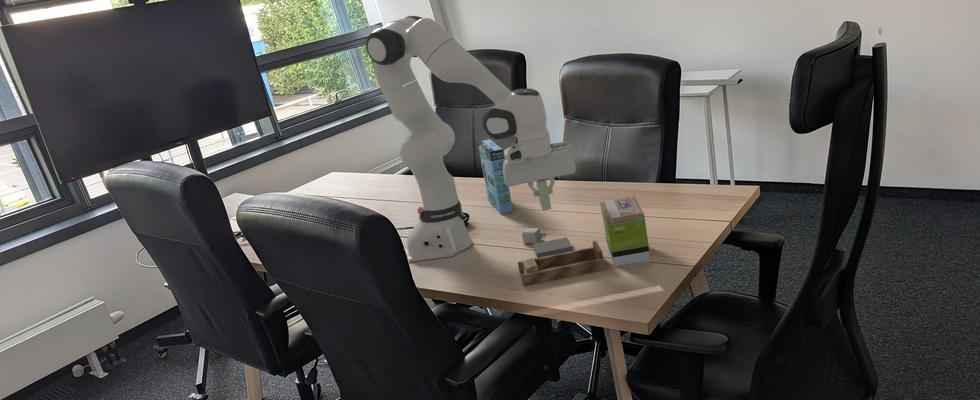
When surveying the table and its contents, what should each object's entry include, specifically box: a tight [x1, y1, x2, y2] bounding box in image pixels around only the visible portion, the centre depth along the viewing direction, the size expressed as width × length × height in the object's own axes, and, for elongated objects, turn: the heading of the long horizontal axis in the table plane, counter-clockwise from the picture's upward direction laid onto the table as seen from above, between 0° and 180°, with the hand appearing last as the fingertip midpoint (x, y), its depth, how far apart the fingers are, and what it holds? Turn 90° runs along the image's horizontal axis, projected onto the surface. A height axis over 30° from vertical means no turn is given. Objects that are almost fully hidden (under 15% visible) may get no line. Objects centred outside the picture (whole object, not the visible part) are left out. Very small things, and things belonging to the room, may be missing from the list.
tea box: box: [599, 195, 652, 267], centre depth 202 cm, size 15×10×15 cm, turn 178°
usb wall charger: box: [521, 227, 548, 245], centre depth 227 cm, size 4×7×4 cm, turn 64°
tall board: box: [535, 179, 552, 212], centre depth 209 cm, size 2×7×8 cm, turn 3°
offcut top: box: [521, 257, 538, 273], centre depth 199 cm, size 3×6×2 cm, turn 7°
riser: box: [533, 236, 573, 258], centre depth 214 cm, size 10×8×3 cm
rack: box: [517, 240, 606, 287], centre depth 200 cm, size 22×10×6 cm, turn 93°
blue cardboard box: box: [477, 138, 514, 215], centre depth 265 cm, size 20×5×23 cm, turn 12°
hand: (543, 194), depth 210 cm, fingers closed on tall board, 2 cm apart
